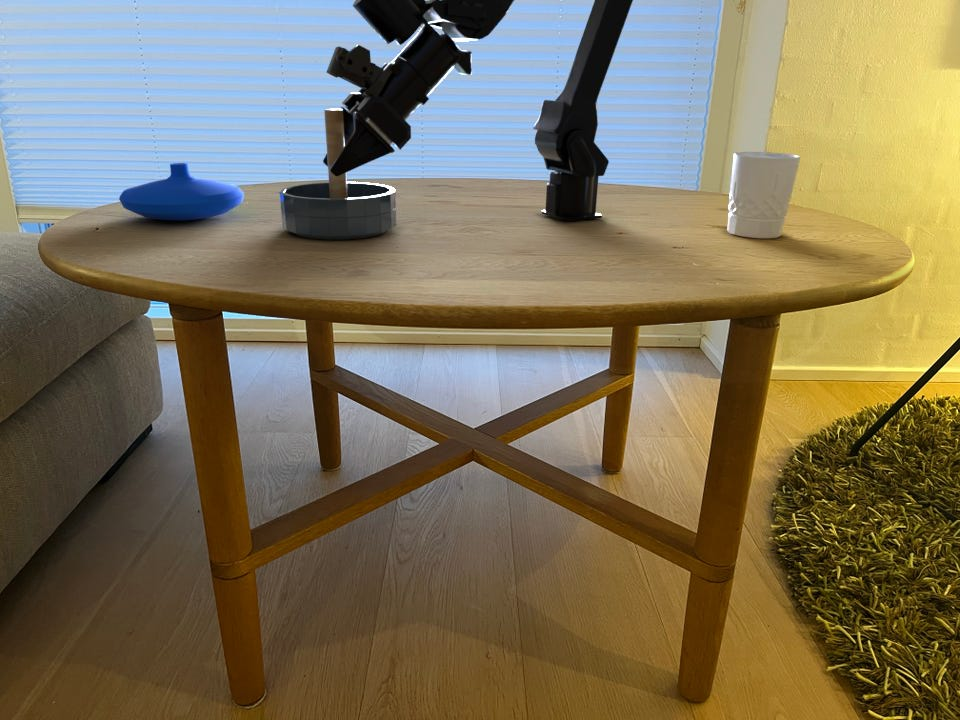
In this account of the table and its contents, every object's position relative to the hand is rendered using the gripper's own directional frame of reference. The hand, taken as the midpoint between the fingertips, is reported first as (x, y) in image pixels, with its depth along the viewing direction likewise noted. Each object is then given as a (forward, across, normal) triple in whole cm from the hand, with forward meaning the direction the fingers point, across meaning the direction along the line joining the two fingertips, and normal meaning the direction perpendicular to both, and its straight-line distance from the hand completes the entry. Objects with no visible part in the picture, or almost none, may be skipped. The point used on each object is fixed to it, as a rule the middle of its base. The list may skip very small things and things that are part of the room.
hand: (329, 168), depth 87 cm
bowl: (+5, 0, +6) cm, 8 cm away
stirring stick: (+4, 0, +6) cm, 7 cm away
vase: (+19, -13, -8) cm, 24 cm away
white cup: (-32, +14, +43) cm, 56 cm away
